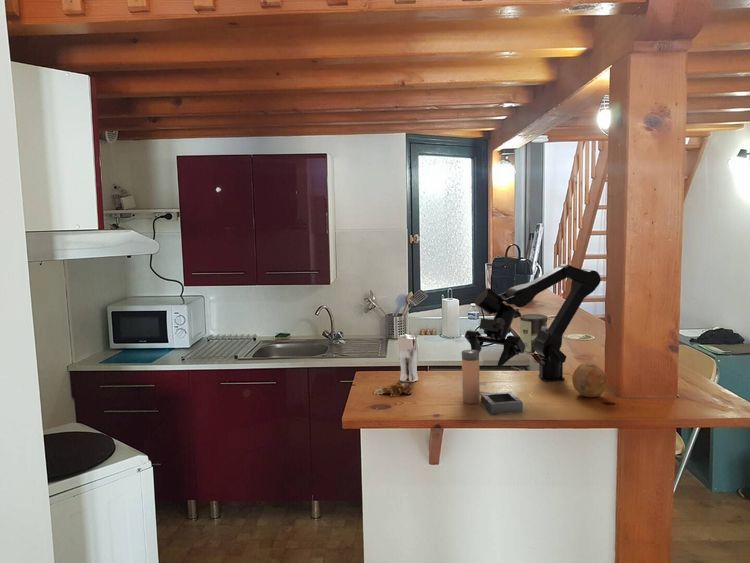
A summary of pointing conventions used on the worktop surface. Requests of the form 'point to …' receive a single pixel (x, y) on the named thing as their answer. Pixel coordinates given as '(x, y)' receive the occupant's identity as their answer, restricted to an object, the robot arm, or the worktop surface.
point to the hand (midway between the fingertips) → (484, 364)
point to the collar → (501, 403)
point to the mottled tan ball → (589, 380)
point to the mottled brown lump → (395, 389)
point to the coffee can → (531, 330)
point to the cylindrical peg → (470, 376)
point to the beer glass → (408, 357)
